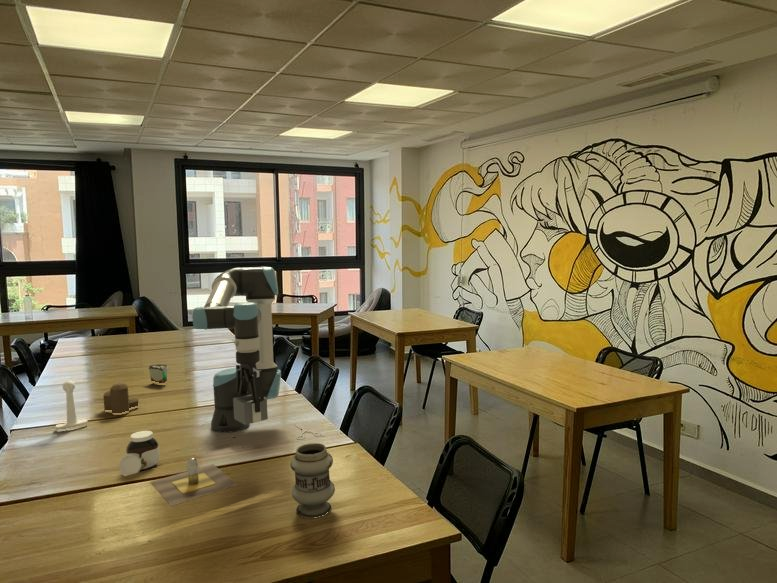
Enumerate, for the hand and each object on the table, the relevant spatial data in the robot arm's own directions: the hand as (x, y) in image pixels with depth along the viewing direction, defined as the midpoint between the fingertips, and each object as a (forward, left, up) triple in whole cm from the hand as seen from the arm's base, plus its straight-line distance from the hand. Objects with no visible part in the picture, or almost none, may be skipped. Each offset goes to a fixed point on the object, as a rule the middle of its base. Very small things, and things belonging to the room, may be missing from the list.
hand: (250, 418), depth 179 cm
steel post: (+1, -20, -16) cm, 26 cm away
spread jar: (-24, -29, -18) cm, 42 cm away
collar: (0, 0, 0) cm, 0 cm away
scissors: (-19, +31, -18) cm, 41 cm away
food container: (-131, +10, -18) cm, 133 cm away
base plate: (+1, -20, -17) cm, 26 cm away
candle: (-96, -18, -18) cm, 100 cm away
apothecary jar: (+37, +1, -18) cm, 41 cm away
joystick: (-87, -39, -18) cm, 97 cm away
